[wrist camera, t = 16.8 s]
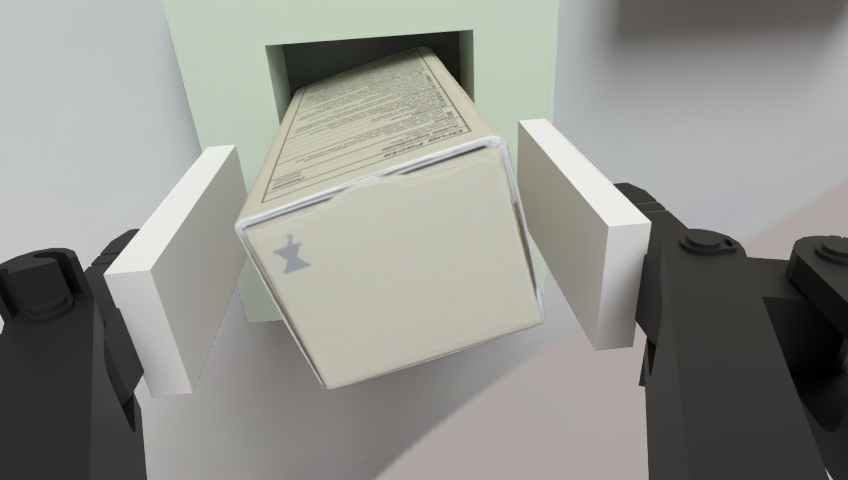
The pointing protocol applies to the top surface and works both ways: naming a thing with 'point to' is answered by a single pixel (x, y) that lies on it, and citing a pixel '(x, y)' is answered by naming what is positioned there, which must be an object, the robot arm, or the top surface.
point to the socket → (337, 20)
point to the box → (390, 222)
